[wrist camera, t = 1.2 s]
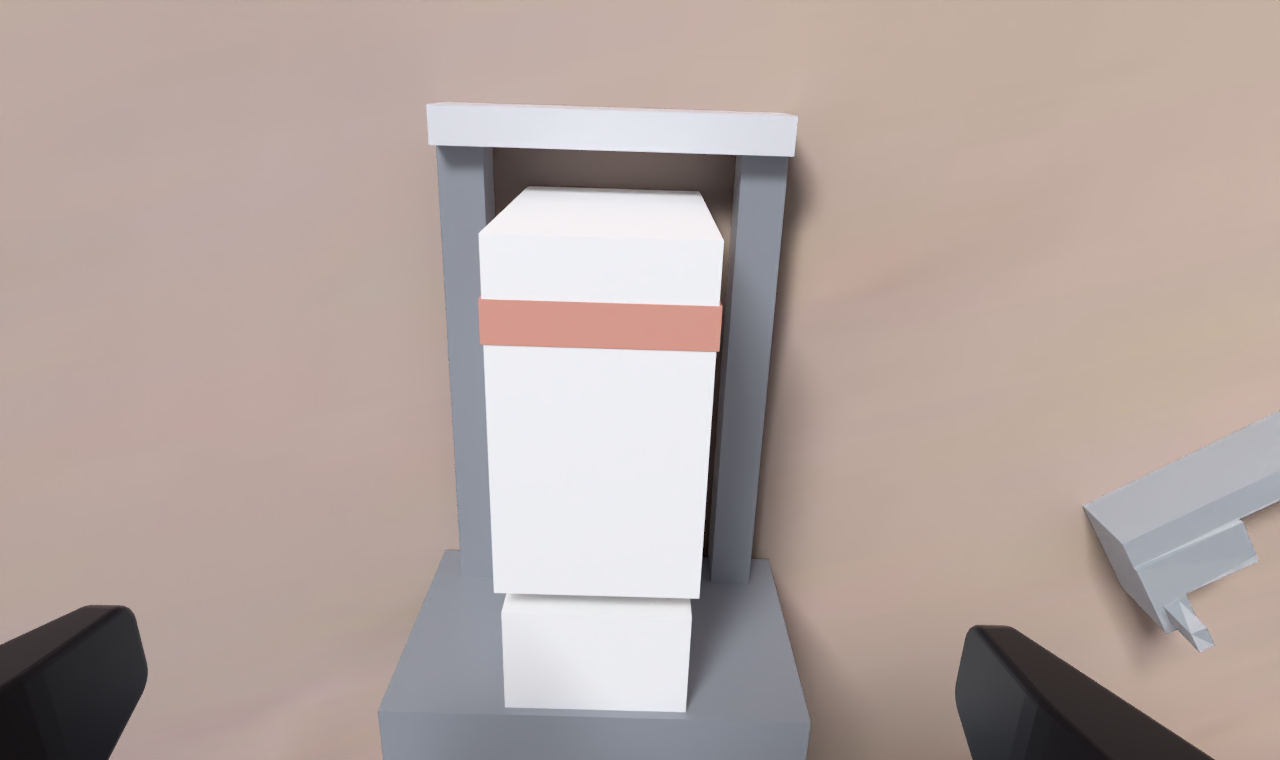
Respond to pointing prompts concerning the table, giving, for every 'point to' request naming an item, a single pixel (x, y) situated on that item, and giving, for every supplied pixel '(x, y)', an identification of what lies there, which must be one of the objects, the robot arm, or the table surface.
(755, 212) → the grey frame stand
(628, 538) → the white banded block
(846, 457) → the table surface
